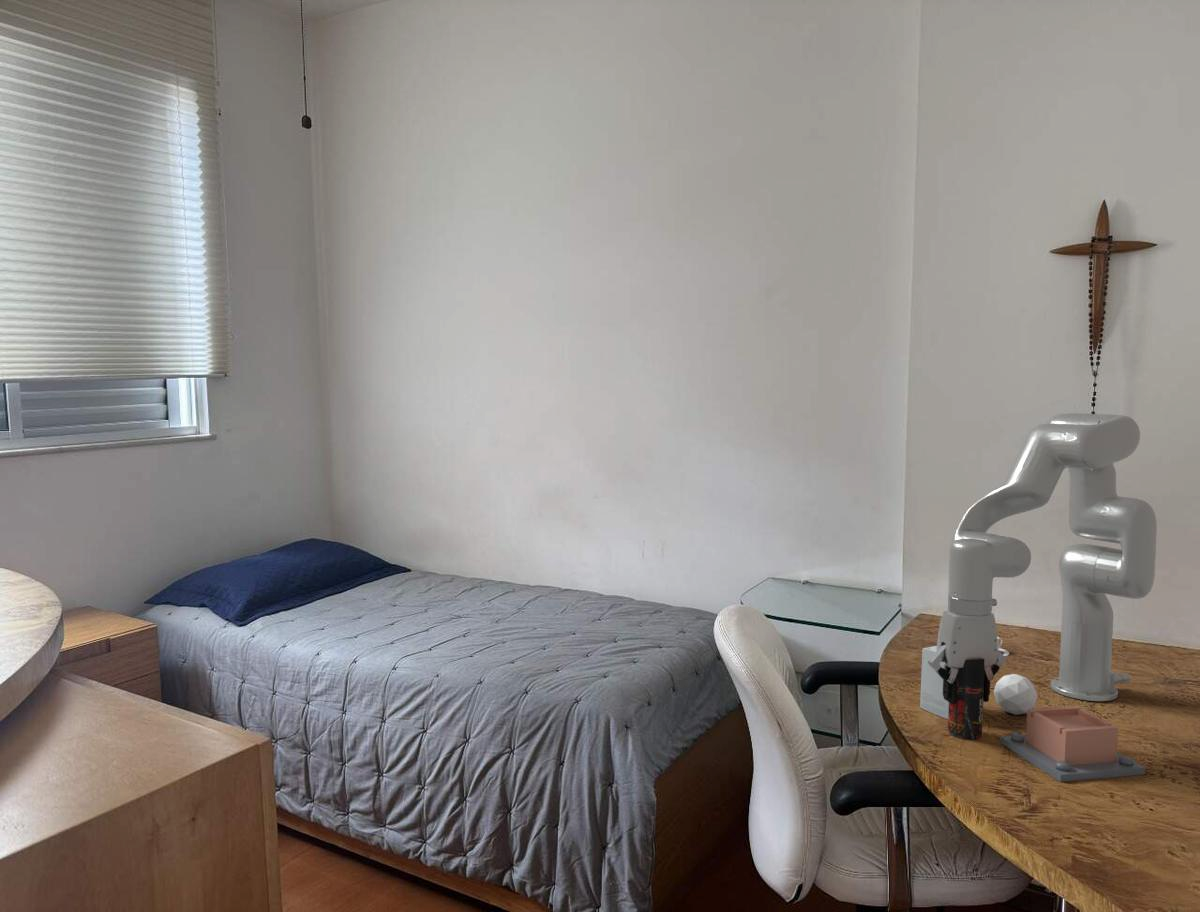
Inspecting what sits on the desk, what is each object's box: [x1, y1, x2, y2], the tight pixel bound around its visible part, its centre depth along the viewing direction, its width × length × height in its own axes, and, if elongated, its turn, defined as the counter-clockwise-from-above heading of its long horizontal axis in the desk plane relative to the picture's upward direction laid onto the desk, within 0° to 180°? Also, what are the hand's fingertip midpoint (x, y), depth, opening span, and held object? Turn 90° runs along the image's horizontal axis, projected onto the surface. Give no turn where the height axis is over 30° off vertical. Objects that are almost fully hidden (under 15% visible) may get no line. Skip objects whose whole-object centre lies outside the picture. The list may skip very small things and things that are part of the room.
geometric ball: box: [993, 673, 1038, 716], centre depth 177 cm, size 8×8×8 cm
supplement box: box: [919, 645, 949, 720], centre depth 177 cm, size 7×7×13 cm
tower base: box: [1000, 705, 1146, 783], centre depth 155 cm, size 16×16×7 cm
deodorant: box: [947, 659, 985, 741], centre depth 166 cm, size 6×6×15 cm
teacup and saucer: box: [997, 636, 1010, 657], centre depth 216 cm, size 9×8×4 cm
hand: (966, 699), depth 166 cm, fingers closed on deodorant, 6 cm apart
